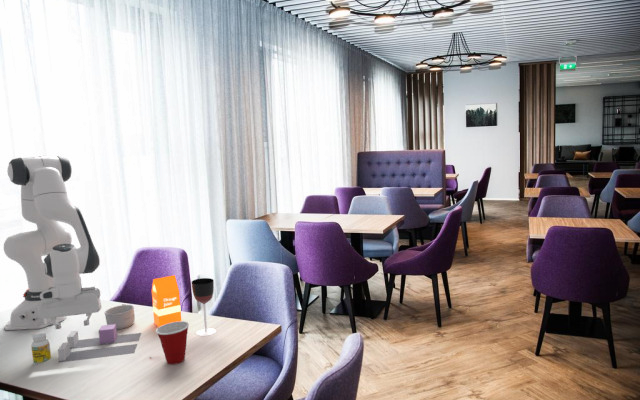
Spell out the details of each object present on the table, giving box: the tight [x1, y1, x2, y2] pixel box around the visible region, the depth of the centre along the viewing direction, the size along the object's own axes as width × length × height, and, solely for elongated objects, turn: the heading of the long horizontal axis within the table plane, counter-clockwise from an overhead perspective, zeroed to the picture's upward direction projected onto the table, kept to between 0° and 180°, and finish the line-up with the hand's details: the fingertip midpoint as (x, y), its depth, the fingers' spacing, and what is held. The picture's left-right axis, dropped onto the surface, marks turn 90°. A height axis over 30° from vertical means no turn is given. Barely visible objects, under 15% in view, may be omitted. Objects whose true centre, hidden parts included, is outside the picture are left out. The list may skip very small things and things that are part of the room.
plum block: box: [98, 324, 118, 344], centre depth 181 cm, size 5×5×5 cm
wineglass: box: [191, 277, 217, 337], centre depth 188 cm, size 8×9×20 cm
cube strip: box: [66, 330, 142, 350], centre depth 181 cm, size 24×8×5 cm, turn 103°
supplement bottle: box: [30, 332, 52, 366], centre depth 167 cm, size 5×5×10 cm
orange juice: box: [151, 274, 182, 328], centre depth 196 cm, size 8×9×20 cm
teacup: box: [104, 303, 136, 330], centre depth 198 cm, size 14×11×8 cm
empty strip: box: [57, 341, 138, 363], centre depth 170 cm, size 24×8×5 cm, turn 103°
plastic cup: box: [155, 320, 190, 365], centre depth 164 cm, size 11×11×12 cm
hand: (72, 326), depth 178 cm, fingers open, 8 cm apart
